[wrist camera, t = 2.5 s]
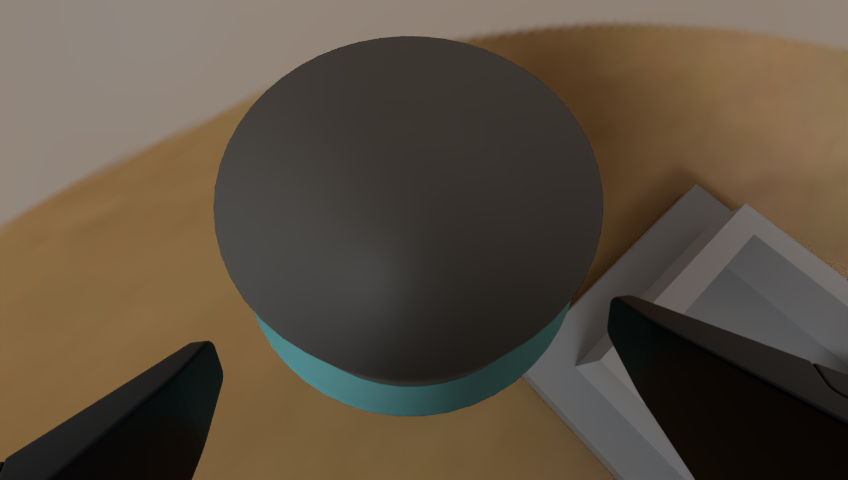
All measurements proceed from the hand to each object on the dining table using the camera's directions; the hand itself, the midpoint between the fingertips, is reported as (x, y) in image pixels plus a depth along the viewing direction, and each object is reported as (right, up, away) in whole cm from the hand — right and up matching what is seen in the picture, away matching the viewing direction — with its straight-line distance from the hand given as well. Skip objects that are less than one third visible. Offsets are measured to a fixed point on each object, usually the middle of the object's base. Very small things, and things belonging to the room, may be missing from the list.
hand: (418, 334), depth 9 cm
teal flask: (0, -2, +9) cm, 9 cm away
